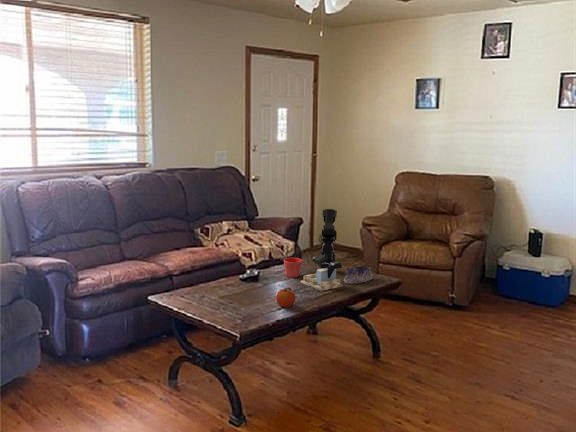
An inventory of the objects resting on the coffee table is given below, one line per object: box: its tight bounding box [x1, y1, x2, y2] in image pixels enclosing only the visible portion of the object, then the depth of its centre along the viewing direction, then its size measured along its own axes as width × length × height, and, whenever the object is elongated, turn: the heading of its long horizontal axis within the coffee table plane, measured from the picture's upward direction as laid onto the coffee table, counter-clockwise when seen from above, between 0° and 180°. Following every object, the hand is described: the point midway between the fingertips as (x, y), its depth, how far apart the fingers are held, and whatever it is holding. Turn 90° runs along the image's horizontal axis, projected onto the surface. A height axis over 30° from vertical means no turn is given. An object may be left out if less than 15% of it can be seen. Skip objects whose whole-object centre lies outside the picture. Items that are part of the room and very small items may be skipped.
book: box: [315, 268, 337, 285], centre depth 331 cm, size 11×4×8 cm, turn 127°
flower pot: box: [283, 257, 303, 278], centre depth 349 cm, size 11×11×10 cm
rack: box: [300, 272, 344, 292], centre depth 335 cm, size 16×18×4 cm
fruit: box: [275, 287, 296, 308], centre depth 295 cm, size 10×10×10 cm
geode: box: [343, 265, 373, 285], centre depth 344 cm, size 20×12×10 cm, turn 138°
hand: (326, 277), depth 332 cm, fingers closed on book, 4 cm apart
